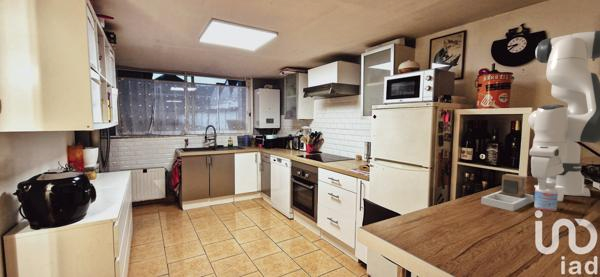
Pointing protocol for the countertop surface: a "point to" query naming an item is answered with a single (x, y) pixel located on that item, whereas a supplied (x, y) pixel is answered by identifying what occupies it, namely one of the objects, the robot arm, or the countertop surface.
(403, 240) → the countertop surface
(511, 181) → the brown wooden block
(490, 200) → the grey compartment tray
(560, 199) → the white ramekin
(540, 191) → the pill bottle
